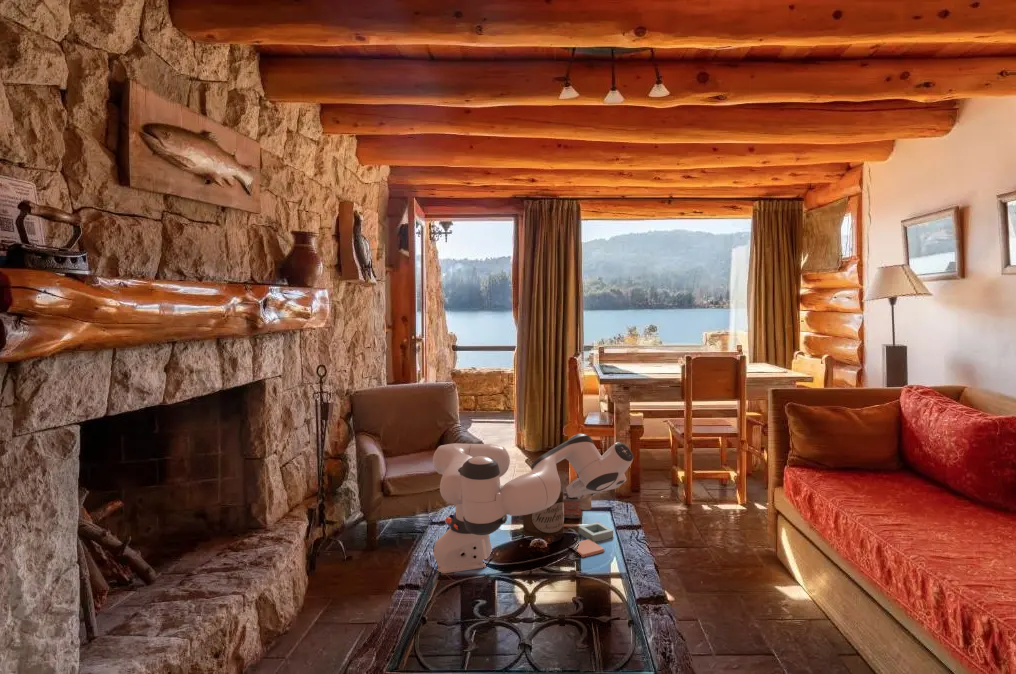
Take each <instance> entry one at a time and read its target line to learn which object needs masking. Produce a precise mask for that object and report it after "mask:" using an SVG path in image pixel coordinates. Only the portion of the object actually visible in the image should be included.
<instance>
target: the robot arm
mask: <svg viewBox="0 0 1016 674" xmlns="http://www.w3.org/2000/svg"><path fill="white" fill-rule="evenodd" d="M432 457H433V458H432V464H433V467H434V470H435V471H436V472H437V473H438V474H439V475H442V476H441V478H440V482H439V483H440V484H439V491H440V495H441V498H442V499H443V500H444V501H445V502H446V503H448V504H451V505H453V506H455V515H454V517H453V518H451V517H450V516H447V517H446V518H445V522H446V524H448V525H450V528H449V529H447V530H446V532H444V533H443V534H442V535H440V537H439V538H437V540H436V541H435V543H434V546H433V552H432V553H433V556H434V558H435V559H436V561H437V563H438V567H439V568H438V569H437V570H438V571H439V572H441V573H440V574H449V573H450V574H451V573H457V572H463V571H464V572H465V571H470V570H476V569H484V568H487V566H486V564H485V563H483V561H482V560H483V559H487V558H488V557H489V556H490V554H491V552H492V551H493V548H492V542H491V537H490V535H491V534H493V533H494V532H496V531H497V530H499V528H501V527H502V525H504V524H505V523H506V522H507V520H508V516H511V517H519V516H522V517H523V515H528V514H532V513H536V512H539V511H541V510H544V509H546V508H548V507H550V506H552V505H553V504H554V503H555V502H556V501H557V499H558V498H559V495H560V490H561V486H562V485H561V484H562V482H561V480H560V475H559V473H558V469H557V468H558V467H557V464H558V463H560V462H562V461H563V460H567V461H568V462H569V463H570V465H571V466H572V469H573V470H574V471H575V473H576V475H577V476H578V477H577V478H575V479H573V480H572V481H571V482H570V483H569V484H568V485H567V486H566V487H565V490H566V491H565V492H567V493H568V495H569V496H568V497H570V498H572V497H577V498H578V499H580V498H582V497H583V495H587V494H591V497H593V496H596V495H597V494H598V493H601V492H606V491H611V490H616V489H618V488H619V487H621V486H622V485H623V484H624V483H625V482H627V480H628V479H627V476H626V474H625V473H626V472H627V471H628V470H629V468H630V466H631V465H632V463H633V461H634V454H633V452H632V450H631V449H630V447H629V446H627V445H626V443H623V442H615V443H613V444H612V445H611V446H610V447H609V448H608V449H606V450H605V452H604V453H603V454H602V455H601V452H600V451H599V450H598V448H597V447H596V445H595V443H594V441H593V439H592V437H591V436H590V435H588V434H585V433H580V432H579V433H577V434H574V435H573V436H571V437H569V439H567V440H566V441H564V442H562V443H561V444H559V445H557V446H556V447H553V448H552V449H550V450H548V451H546V452H545V453H543V454H541V455H540V456H539V457H538V458H536V459H535V460H534V461H533V463H532V465H531V468H530V469H531V471H530V472H528V473H527V472H526V473H524V474H522V475H519V476H517V477H515V478H513V479H511V480H509V481H508V482H505V484H503V485H501V478H502V477H504V475H505V474H506V473H507V471H508V470H509V468H510V465H511V459H510V458H511V457H510V455H509V452H508V450H507V449H506V448H505V447H504V446H500V445H497V444H493V443H492V444H491V443H448V444H442V445H439V446H438V447H437V448H436V450H435V451H434V453H433V456H432ZM483 567H484V568H483ZM439 572H438V573H439Z"/></svg>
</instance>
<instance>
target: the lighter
mask: <svg viewBox="0 0 1016 674" xmlns="http://www.w3.org/2000/svg"><path fill="white" fill-rule="evenodd" d="M563 502H564V519H581V518H582V516H583V515H582V509H580V499H578V498H577V497H572V498H570V497H569V495H568V493H567V491H563Z"/></svg>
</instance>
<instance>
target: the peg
mask: <svg viewBox="0 0 1016 674" xmlns="http://www.w3.org/2000/svg"><path fill="white" fill-rule="evenodd" d="M580 509H581V510H584V511H589V510H591V509H592V496H591V494H587V495H583V497H582V498H580Z"/></svg>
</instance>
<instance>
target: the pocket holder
mask: <svg viewBox="0 0 1016 674" xmlns="http://www.w3.org/2000/svg"><path fill="white" fill-rule="evenodd" d="M597 530H598V531H597ZM578 534H579V535H581V536H582V535H583V536H582V537H584V538H585V539H586V540H587V539H590V540H591V541H593V542H594V543H596V542H600V541H603V539H604V540H607V539H610V538H611V537H612V538H614V530H613V529H611V528H610V527H608V526H606V525H604V524H603V523H601V522H600V521H597V522H592V523H587V524H583V525H580V526H579V525H578Z"/></svg>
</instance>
